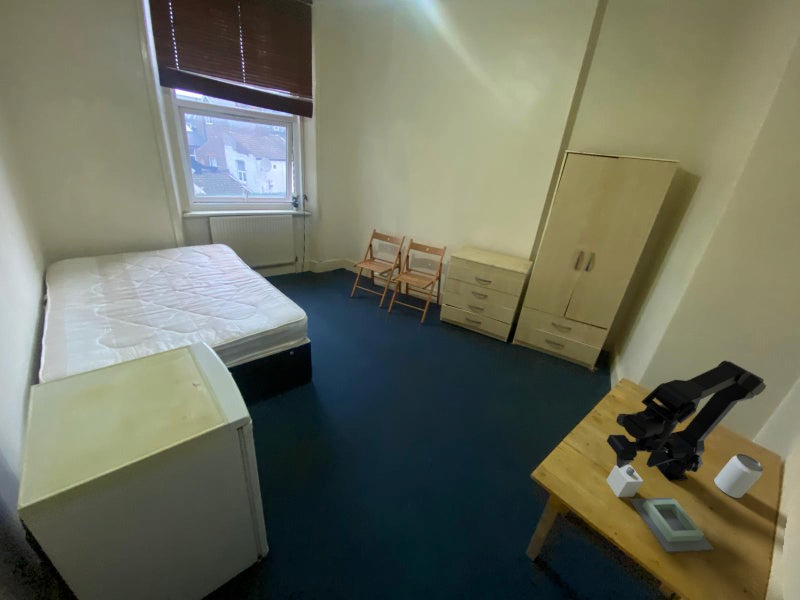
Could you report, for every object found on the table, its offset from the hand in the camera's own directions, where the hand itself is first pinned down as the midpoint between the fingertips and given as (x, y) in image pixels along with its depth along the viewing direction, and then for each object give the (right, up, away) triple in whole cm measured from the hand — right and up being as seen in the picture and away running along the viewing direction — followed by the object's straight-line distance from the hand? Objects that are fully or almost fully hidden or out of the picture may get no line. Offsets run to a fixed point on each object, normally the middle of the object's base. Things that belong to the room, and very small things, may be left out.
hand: (633, 466), depth 91 cm
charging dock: (+7, -14, -4) cm, 16 cm away
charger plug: (-1, -9, +4) cm, 10 cm away
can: (+34, -11, +7) cm, 36 cm away
